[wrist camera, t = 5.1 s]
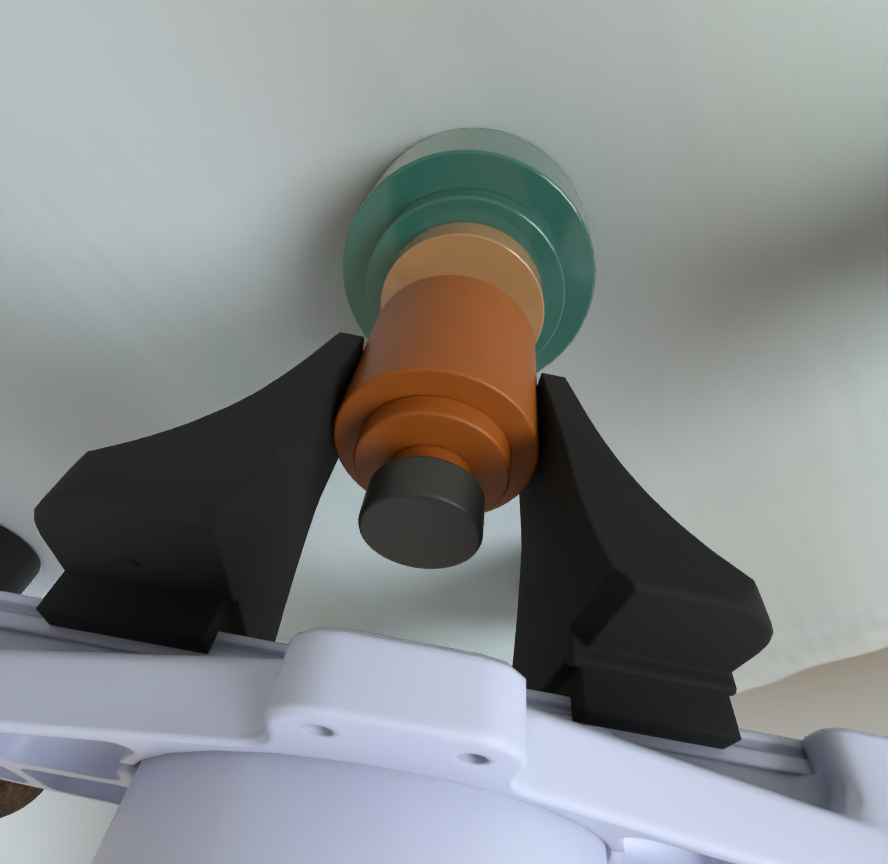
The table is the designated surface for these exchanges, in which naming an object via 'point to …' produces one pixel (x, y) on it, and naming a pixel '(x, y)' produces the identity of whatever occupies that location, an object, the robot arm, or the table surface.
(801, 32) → the table surface
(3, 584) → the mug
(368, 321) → the green round container
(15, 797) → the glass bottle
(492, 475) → the amber bottle
